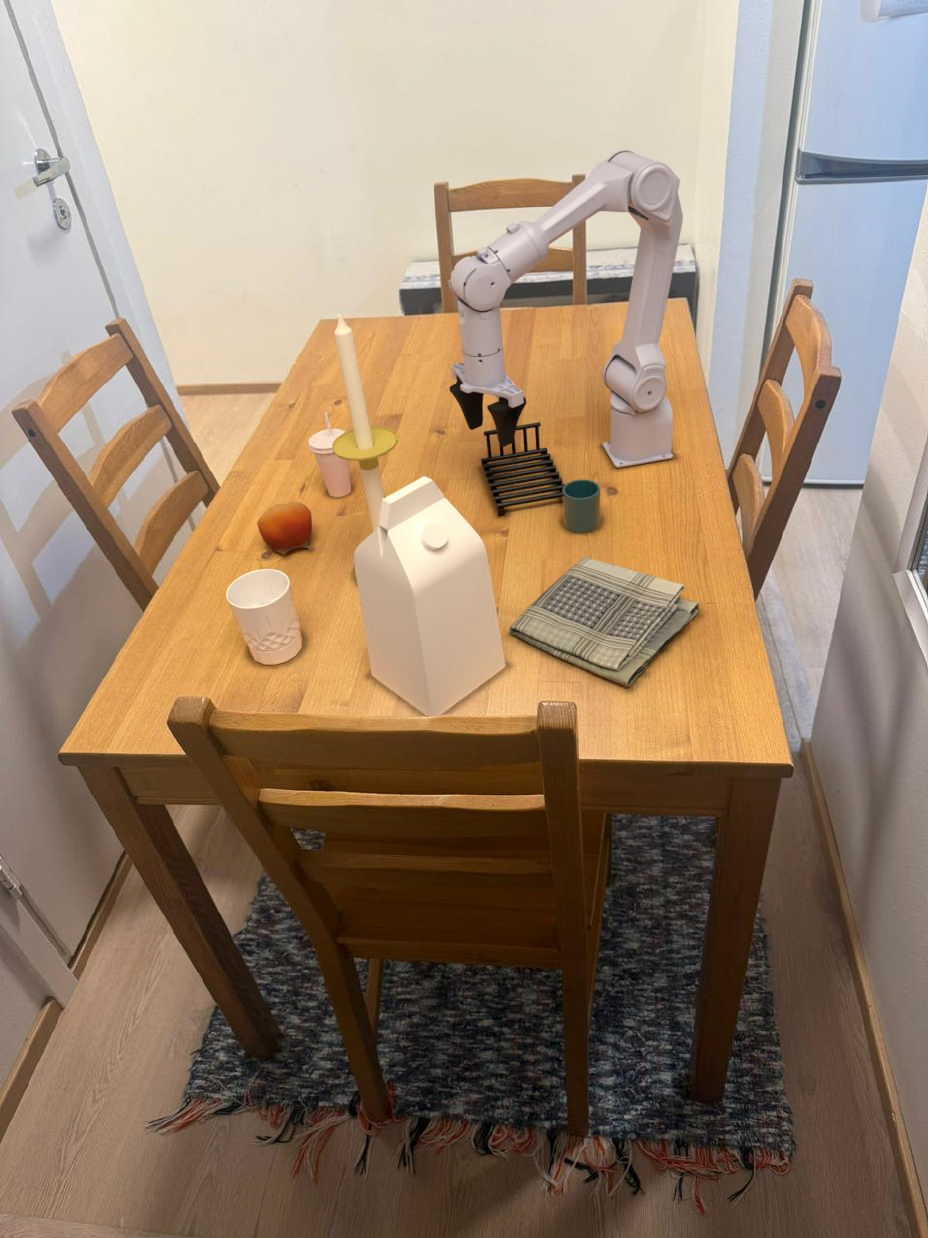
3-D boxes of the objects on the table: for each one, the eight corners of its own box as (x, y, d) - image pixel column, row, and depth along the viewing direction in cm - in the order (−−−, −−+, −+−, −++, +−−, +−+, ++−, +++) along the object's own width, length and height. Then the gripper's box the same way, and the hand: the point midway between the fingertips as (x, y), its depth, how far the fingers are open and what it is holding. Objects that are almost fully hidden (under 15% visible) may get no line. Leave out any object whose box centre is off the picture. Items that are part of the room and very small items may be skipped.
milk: (443, 627, 114) (415, 449, 98) (505, 666, 107) (487, 482, 91) (371, 675, 108) (329, 496, 92) (432, 720, 101) (398, 535, 85)
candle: (435, 554, 127) (396, 295, 103) (404, 596, 120) (354, 329, 96) (375, 544, 131) (324, 291, 107) (341, 583, 124) (279, 323, 100)
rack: (546, 456, 145) (545, 419, 141) (569, 504, 133) (568, 465, 129) (481, 468, 144) (477, 431, 140) (498, 516, 133) (494, 477, 129)
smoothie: (352, 502, 140) (335, 422, 131) (315, 501, 142) (295, 422, 133) (364, 480, 145) (348, 403, 136) (327, 480, 147) (309, 403, 138)
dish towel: (504, 636, 111) (503, 617, 109) (583, 565, 121) (583, 546, 119) (631, 694, 101) (632, 674, 99) (706, 611, 111) (708, 591, 109)
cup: (594, 510, 131) (594, 476, 128) (604, 529, 127) (604, 495, 124) (560, 516, 131) (558, 482, 127) (568, 535, 127) (567, 501, 123)
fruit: (276, 563, 127) (255, 511, 125) (268, 563, 134) (249, 514, 133) (328, 544, 129) (308, 492, 128) (318, 545, 137) (299, 496, 135)
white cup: (250, 632, 118) (230, 573, 111) (308, 624, 117) (291, 564, 111) (244, 672, 111) (222, 612, 105) (305, 664, 111) (287, 603, 105)
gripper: (430, 343, 126) (441, 429, 135) (491, 372, 116) (500, 462, 125) (469, 328, 129) (478, 413, 137) (532, 355, 119) (537, 444, 128)
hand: (491, 435), depth 131 cm, fingers open, 7 cm apart
